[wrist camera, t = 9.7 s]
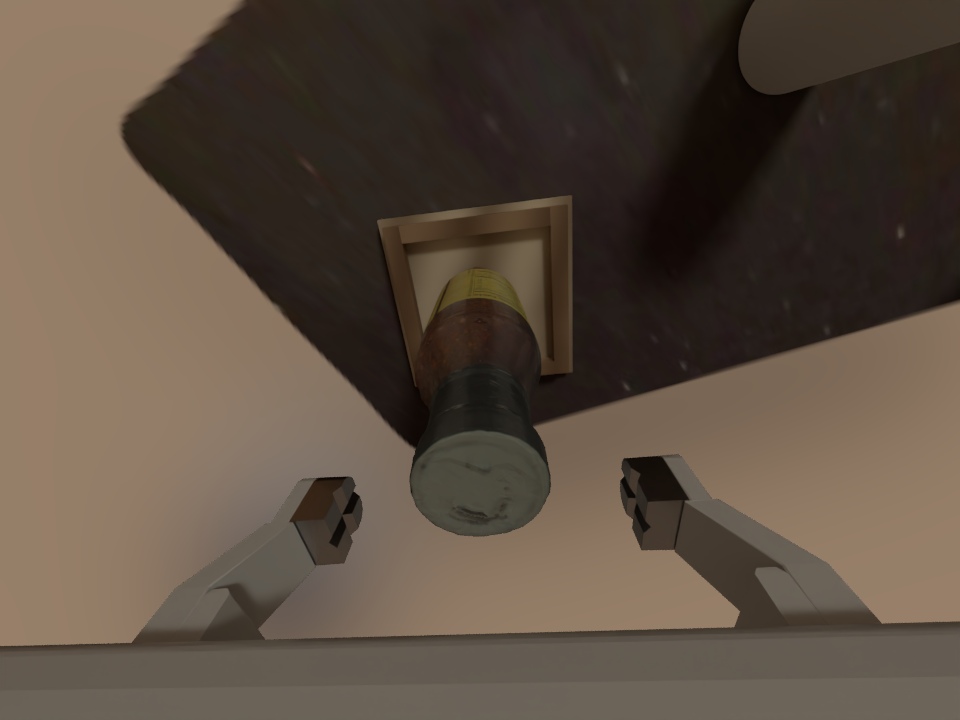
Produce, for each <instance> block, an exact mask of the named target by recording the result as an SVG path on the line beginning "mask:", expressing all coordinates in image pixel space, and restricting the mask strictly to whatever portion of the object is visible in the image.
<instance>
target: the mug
mask: <svg viewBox="0 0 960 720" xmlns="http://www.w3.org/2000/svg"><path fill="white" fill-rule="evenodd" d="M958 42H960V0H755V1H754V2H753V4H752V6H751V7H750V9H749V11H748V13H747V15H746V18H745V20H744V23H743V26H742V29H741V33H740V38H739V45H738V59H739V65H740V69H741V72H742V75H743V77H744V78H745V80H746V81H747V83H748V84H749V85H750V86H751V87H752V88H753V89H755V90H757V91H758V92H761V93H764V94H769V95H779V94H785V93H789V92H792V91H796V90H799V89H802V88H806V87H809V86H813V85H817V84H821V83H824V82H827V81H831V80H834V79H837V78H841V77H844V76H847V75H850V74H854V73H857V72H860V71H864V70H867V69H871V68H874V67H877V66H881V65H884V64H887V63H891V62H894V61H897V60H901V59H904V58H908V57H911V56H914V55H918V54H921V53H924V52H928V51H931V50H935V49H938V48H941V47H945V46H948V45H952V44H955V43H958Z"/></svg>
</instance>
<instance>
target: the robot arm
mask: <svg viewBox="0 0 960 720" xmlns="http://www.w3.org/2000/svg"><path fill="white" fill-rule="evenodd" d="M621 469H622V471H623V473H624V477H623V478H622V480H621V481H620V492H621V499H622V503H623V506H624V509H625V511H626V514H627V515H628V516H630V517H631V518H632V519H633V526H632V529H633V531H634V533H635V536H636V538H637V541H638V543H639V545H640V548H641V550H675V552H676V553H677V554H678V555H679V556H681V557H682V558H683V559H684V560H685V561H686V562H687V563H688V564H689V565H690V566H691V567H693V569H695V570H696V571H697V572H698V573H699V574H700V575H701V576H702V577H703V578H704V579H706V580H707V581H708V582H709V583H710V584H711V585H712V586H713V587H714V588H716V590H718V591H719V592H720V593H721V594H722V595H723V596H724V597H725V598H726V599H728V601H730V602H731V603H732V604H733V605H734V606H735V607H736V608H737V609H738V610H739V611H740V614H739V616H738V619H737V622H736V625H735V627H734V628H733V627H732V628H693V629H659V630H658V629H656V630H618V631H617V630H616V631H579V632H543V633H542V632H540V633H505V634H466V635H427V636H391V637H351V638H313V639H274V640H265V639H264V637H263V636H262V634H261V633H260V632H259V630H258V628H259V627H260V626H261V625H262V624H263V623H264V622H265V621H266V620H267V619H268V618H269V617H270V615H271V614H272V613H273V612H274V611H275V610H276V609H277V608H278V607H279V606H280V605H281V604H282V603H283V602H284V601H285V599H286V598H287V597H288V596H289V595H290V594H291V593H292V592H293V591H294V590H295V589H296V588H297V587H298V585H299V584H300V583H301V582H302V581H303V580H304V579H305V578H306V577H307V576H308V575H309V574H310V572H312V570H313V569H314V568H315V567H316V566H315V565H327V564H340V563H344V562H345V560H346V557H347V555H348V552H349V550H350V547H351V544H352V539H351V536H350V535H351V534H352V533H353V532H354V531H356V530H357V529H358V527H359V524H360V521H361V518H362V510H363V509H362V501H361V499H360V496H359V495H357V494H356V493H355V492H353V490H354V488H355V486H356V485H355V483H354V480H353V478H352V477H325V478H309V479H302V480H300V481H299V482H298V483H297V484H296V486H295V487H294V489H293V491H292V492H291V493H290V495H289V496H288V498H287V499H286V501H285V502H284V504H283V505H282V507H281V509H280V510H279V511H278V513H277V514H276V516H275V517H274V519H273V520H272V522H271V523H269V524H264V525H263V526H262V527H260V528H259V529H257V530H256V531H255V532H253V533H252V534H250V535H249V536H248V537H246V538H245V539H243V540H242V541H241V542H239V543H238V544H237V545H235V546H234V547H233V548H231V549H230V550H228V551H227V552H225V553H224V554H223V555H221V556H220V557H218V558H217V559H216V560H214V561H213V562H211V563H210V564H209V565H207V566H206V567H204V568H203V569H202V570H200V571H199V572H198V573H196V574H195V575H193V576H192V577H191V578H189V579H188V580H186V581H185V582H183V583H182V584H181V585H179V586H178V587H176V588H175V589H174V590H173V592H172V593H171V594H170V595H169V597H168V598H167V599H166V601H165V602H164V603H163V604H162V605H161V607H160V608H159V609H158V610H157V612H156V613H155V614H154V615H153V617H152V618H151V619H150V620H149V622H148V623H147V624H146V625H145V627H144V628H143V629H142V630H141V632H140V633H139V634H138V635H137V637H136V638H135V639H134V641H133V642H132V643H114V644H76V645H35V646H0V720H960V622H925V623H888V624H887V623H886V624H882V623H881V622H880V621H879V620H878V619H877V617H875V615H874V614H873V613H872V612H871V611H870V610H869V609H868V608H867V606H866V605H865V604H864V603H863V602H862V601H861V600H860V599H859V597H858V596H857V595H856V594H855V593H854V592H853V591H852V590H851V588H850V587H849V586H848V585H847V584H846V583H845V582H844V581H843V580H842V578H841V577H840V576H839V575H838V574H837V573H836V572H835V571H834V569H833V568H832V567H831V566H830V565H829V564H828V563H826V562H824V561H823V560H821V559H819V558H818V557H816V556H814V555H813V554H811V553H809V552H808V551H806V550H804V549H802V548H800V547H799V546H797V545H796V544H794V543H792V542H790V541H789V540H787V539H785V538H783V537H782V536H780V535H779V534H777V533H775V532H773V531H772V530H770V529H768V528H767V527H765V526H763V525H762V524H760V523H758V522H756V521H755V520H753V519H751V518H750V517H748V516H746V515H744V514H743V513H741V512H739V511H738V510H736V509H734V508H733V507H731V506H729V505H728V504H726V503H724V502H722V501H721V500H719V499H712V498H711V497H710V495H709V494H708V493H707V491H706V490H705V488H704V487H703V486H702V484H701V483H700V481H699V480H698V479H697V477H696V476H695V474H694V473H693V472H692V470H691V469H690V467H689V466H688V465H687V463H686V462H685V460H684V459H683V458H682V457H681V456H680V455H678V454H676V455H663V456H652V457H638V458H624V459H623V461H622V468H621Z"/></svg>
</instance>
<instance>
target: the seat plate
mask: <svg viewBox="0 0 960 720" xmlns="http://www.w3.org/2000/svg"><path fill="white" fill-rule="evenodd" d="M377 222H378V227H379V231H380V235H381V240H382V244H383V248H384V253H385V257H386V261H387V266H388V270H389V274H390V279H391V283H392V288H393V292H394V296H395V301H396V305H397V309H398V314H399V318H400V322H401V327H402V331H403V336H404V340H405V344H406V349H407V353H408V357H409V362H410V366H411V370H412V375H413V379H414V384H415V387H417V386H416V382H415V363H416V358H417V354H418V352H419V349H420V344H421V340H422V336H423V334H424V331H425V329H426V326H427V324H428V321H429V319H430V316H431V314H432V312H433V309H434V307H435V304H436V302H437V299H438V297H439V295H440V293H441V291H442V289H443V288H444V286H445V285H446V284H447V283H448V281H449V280H450V279H451V278H452V277H454V276H455V275H457V274H459V273H461V272H463V271H465V270H468V269H472V268H474V267H480V268H484V269H488V270H491V271H495V272H498V273H499V274H500V275H502V276H503V277H505V278H506V279H507V280H508V281H509V282H510V283H511V285H512V286H513V288H514V289H515V291H516V293H517V295H518V297H519V300H520V302H521V304H522V306H523V309H524V311H525V313H526V316H527V319H528V321H529V323H530V325H531V328H532V330H533V332H534V334H535V337H536V339H537V342H538V345H539V349H540V353H541V375H550V374H561V373H569V372H572V196H570V195H569V196H561V197H553V198H545V199H537V200H530V201H522V202H514V203H506V204H498V205H491V206H483V207H475V208H467V209H459V210H451V211H444V212H436V213H428V214H420V215H412V216H405V217H397V218H389V219H381V220H377Z"/></svg>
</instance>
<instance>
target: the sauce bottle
mask: <svg viewBox="0 0 960 720" xmlns="http://www.w3.org/2000/svg"><path fill="white" fill-rule="evenodd" d="M540 377H541V353H540V349H539V345H538V342H537V339H536V337H535V334H534V332H533V330H532V328H531V325H530V323H529V321H528V319H527V316H526V313H525V311H524V309H523V306H522V304H521V302H520V300H519V297H518V295H517V293H516V291H515V289H514V288H513V286H512V285H511V283H510V282H509V281H508V280H507V279H506V278H505V277H503V276H502V275H500V274H499V273H498V272H495V271H491V270H488V269H484V268H480V267H474V268H472V269H468V270H465V271H463V272H461V273H459V274H457V275H455V276H454V277H452V278H451V279H450V280H449V281H448V283H447V284H446V285H445V286H444V288H443V289H442V291H441V293H440V295H439V297H438V299H437V302H436V304H435V307H434V309H433V312H432V314H431V316H430V319H429V321H428V324H427V326H426V329H425V331H424V334H423V336H422V340H421V344H420V349H419V352H418V354H417V358H416V363H415V382H416V386H417V387H418V388H419V391H420V395H421V400H422V401H423V402H424V403H425V405H427V406H428V408H429V415H430V416H429V421H428V425H427V428H426V430H425V432H424V433H423V435H422V436H421V438H420V440H419V442H418V445H417V448H416V450H415V455H414V457H413V463H412V469H411V473H410V487H411V493H412V496H413V499H414V501H415V504H416V507H417V508H418V509H419V511H420V512H421V513H422V514H423V515H424V516H425V517H426V518H427V519H428V520H430V521H431V522H432V523H433V524H434V525H436V526H438V527H440V528H442V529H444V530H447V531H449V532H453V533H455V534H458V535H464V536H489V535H495V534H502V533H507V532H510V531H512V530H515V529H518V528H521V527H523V526H524V525H526V524H527V523H529V522H530V521H531V520H532V519H534V517H535V516H536V515H537V514H538V513H539V512H540V510H541V509H542V507H543V505H544V503H545V501H546V498H547V497H548V495H549V493H550V486H551V482H550V472H549V468H548V462H547V457H546V451H545V447H544V444H543V442H542V440H541V438H540V436H539V435H538V433H537V431H536V430H535V429H534V428H533V424H532V422H531V417H530V412H531V411H530V405H531V402H532V400H533V397H534V395H535V392H536V389H537V387H538V384H539V381H540Z"/></svg>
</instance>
